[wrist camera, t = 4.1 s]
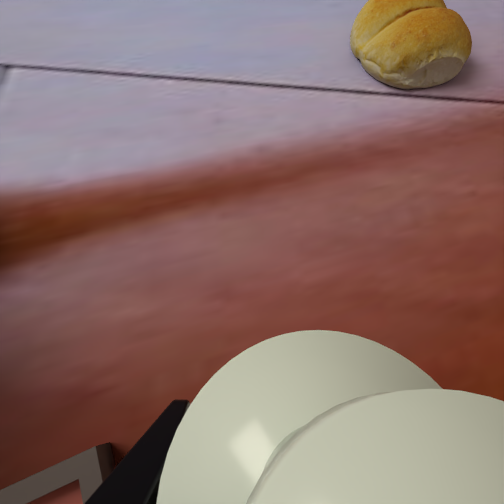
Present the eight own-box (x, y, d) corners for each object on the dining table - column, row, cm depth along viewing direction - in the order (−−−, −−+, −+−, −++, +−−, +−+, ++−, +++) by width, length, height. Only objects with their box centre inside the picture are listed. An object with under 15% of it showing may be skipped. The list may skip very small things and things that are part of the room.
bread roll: (418, 16, 28) (444, -41, 25) (472, 84, 25) (511, 28, 21) (330, 28, 27) (343, -29, 24) (372, 100, 24) (395, 46, 20)
